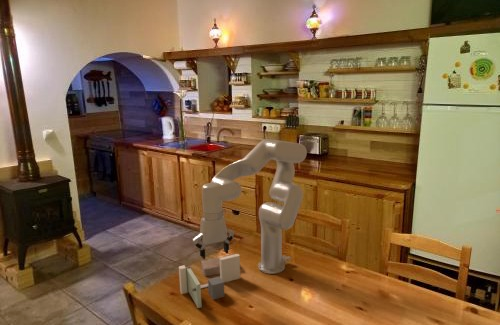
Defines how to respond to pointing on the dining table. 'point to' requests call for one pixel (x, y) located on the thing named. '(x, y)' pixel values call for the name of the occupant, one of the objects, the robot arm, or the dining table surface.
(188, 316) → the dining table surface
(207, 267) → the brick
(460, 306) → the dining table surface
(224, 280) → the wall frame
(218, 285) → the grey block
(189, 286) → the door
